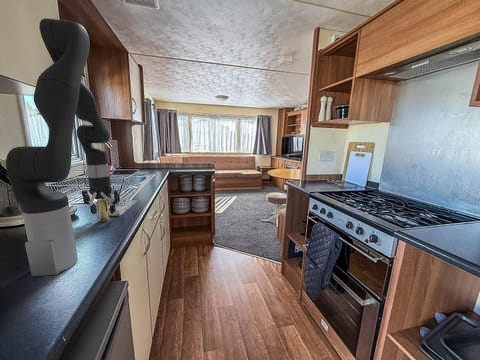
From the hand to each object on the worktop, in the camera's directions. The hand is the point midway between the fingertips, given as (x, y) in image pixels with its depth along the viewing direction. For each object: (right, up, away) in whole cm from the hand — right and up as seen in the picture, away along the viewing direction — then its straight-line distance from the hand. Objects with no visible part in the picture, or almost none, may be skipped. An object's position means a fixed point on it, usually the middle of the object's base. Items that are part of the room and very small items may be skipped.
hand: (103, 213), depth 89 cm
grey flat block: (-2, 0, +14) cm, 14 cm away
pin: (0, -3, +1) cm, 3 cm away
